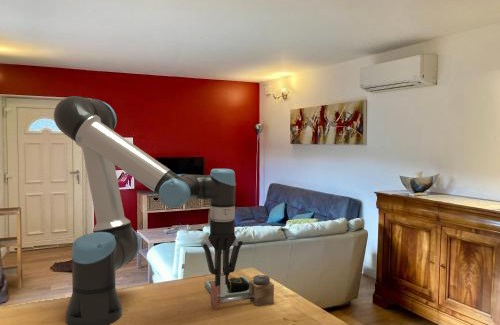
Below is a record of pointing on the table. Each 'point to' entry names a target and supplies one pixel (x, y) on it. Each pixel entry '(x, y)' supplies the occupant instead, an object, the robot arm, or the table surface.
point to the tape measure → (237, 285)
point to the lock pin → (215, 298)
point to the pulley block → (261, 290)
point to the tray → (228, 293)
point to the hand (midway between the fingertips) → (221, 295)
